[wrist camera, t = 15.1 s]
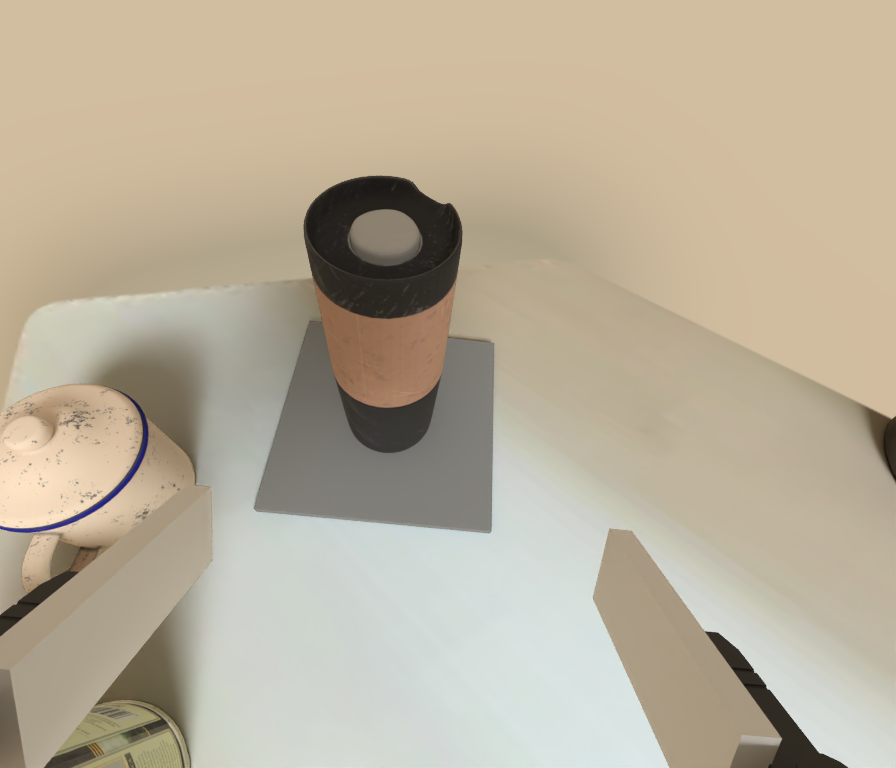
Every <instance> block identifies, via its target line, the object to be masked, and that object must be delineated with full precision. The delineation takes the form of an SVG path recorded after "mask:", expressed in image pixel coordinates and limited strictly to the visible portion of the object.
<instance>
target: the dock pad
mask: <svg viewBox="0 0 896 768" xmlns="http://www.w3.org/2000/svg"><path fill="white" fill-rule="evenodd" d="M493 388H494V343H489V342H481V341H473V340H464V339H456V338H447V345H446V352H445V358H444V365H443V370H442V375H441V379H440V383H439V388H438V392H437V397H436V401H435V405H434V410H433V414H432V418H431V422H430V425H429V428H428V430H427V432H426V434H425V435H424V437H423V438H422V439H421V440H420V441H419V442H418V443H417V444H415V445H414V446H412V447H411V448H409V449H406V450H404V451H401V452H396V453H382V452H377V451H374V450H371V449H369V448H367V447H366V446H364V445H363V444H362V443H360V442H359V441H358V440H357V439H356V437H355V436H354V434H353V433H352V431H351V429H350V426H349V423H348V420H347V417H346V414H345V410H344V407H343V404H342V400H341V397H340V393H339V390H338V387H337V383H336V380H335V376H334V373H333V369H332V364H331V360H330V355H329V350H328V346H327V341H326V336H325V332H324V327H323V323H322V322H315V321H310V322H309V325H308V328H307V332H306V335H305V338H304V342H303V345H302V348H301V352H300V355H299V358H298V362H297V365H296V369H295V372H294V375H293V379H292V382H291V385H290V389H289V392H288V395H287V399H286V402H285V405H284V409H283V412H282V415H281V419H280V422H279V426H278V429H277V432H276V436H275V439H274V442H273V446H272V449H271V452H270V456H269V459H268V462H267V466H266V469H265V472H264V476H263V479H262V482H261V486H260V489H259V493H258V496H257V499H256V503H255V506H254V509H255V510H256V511H259V512H269V513H280V514H291V515H301V516H312V517H322V518H333V519H344V520H354V521H365V522H376V523H386V524H397V525H407V526H418V527H429V528H439V529H450V530H461V531H471V532H482V533H490V532H491V528H492V458H493Z"/></svg>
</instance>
